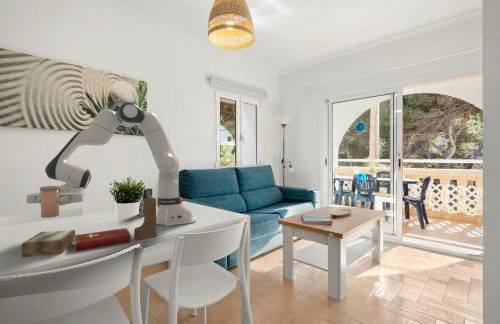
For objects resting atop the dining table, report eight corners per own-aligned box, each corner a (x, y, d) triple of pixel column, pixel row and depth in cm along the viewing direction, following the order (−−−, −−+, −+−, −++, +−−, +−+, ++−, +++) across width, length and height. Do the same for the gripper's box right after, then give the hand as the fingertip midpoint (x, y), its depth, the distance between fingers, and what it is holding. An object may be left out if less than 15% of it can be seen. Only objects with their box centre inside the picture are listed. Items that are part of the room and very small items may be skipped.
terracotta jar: (62, 213, 112) (61, 185, 112) (56, 217, 106) (55, 187, 106) (44, 214, 110) (44, 186, 110) (37, 218, 104) (36, 188, 104)
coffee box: (144, 216, 163) (144, 190, 163) (135, 215, 164) (135, 189, 164) (152, 212, 172) (152, 188, 171) (144, 212, 173) (143, 188, 173)
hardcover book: (131, 243, 117) (131, 233, 117) (74, 253, 105) (74, 242, 105) (126, 235, 127) (126, 227, 127) (74, 244, 115) (74, 234, 115)
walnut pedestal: (75, 240, 118) (75, 229, 118) (61, 253, 103) (61, 240, 103) (40, 243, 114) (40, 231, 114) (22, 256, 100) (21, 243, 99)
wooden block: (136, 240, 119) (136, 200, 118) (134, 237, 123) (133, 199, 122) (156, 236, 125) (156, 198, 124) (153, 234, 128) (153, 197, 128)
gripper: (35, 188, 117) (17, 193, 104) (87, 187, 123) (77, 192, 110) (35, 203, 118) (18, 209, 104) (87, 200, 123) (77, 207, 110)
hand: (49, 200), depth 107 cm, fingers closed on terracotta jar, 6 cm apart
